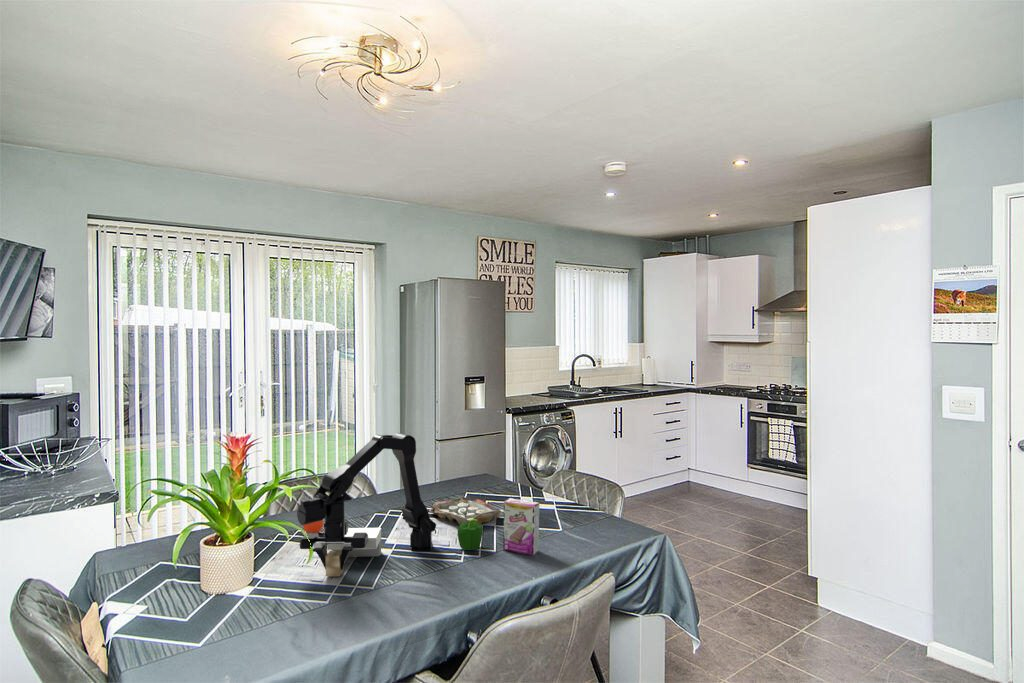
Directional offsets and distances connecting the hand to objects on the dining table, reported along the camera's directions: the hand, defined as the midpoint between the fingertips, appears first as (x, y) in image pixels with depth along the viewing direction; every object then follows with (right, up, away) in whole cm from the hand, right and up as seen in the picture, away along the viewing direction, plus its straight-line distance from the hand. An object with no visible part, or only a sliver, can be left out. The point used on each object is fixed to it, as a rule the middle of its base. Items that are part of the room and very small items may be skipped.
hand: (334, 569), depth 168 cm
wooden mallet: (0, -1, +6) cm, 6 cm away
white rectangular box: (+3, -2, +13) cm, 13 cm away
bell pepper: (+39, -2, +22) cm, 44 cm away
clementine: (-18, -1, +33) cm, 38 cm away
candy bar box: (+56, -2, +20) cm, 59 cm away
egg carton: (+34, -1, +53) cm, 63 cm away
